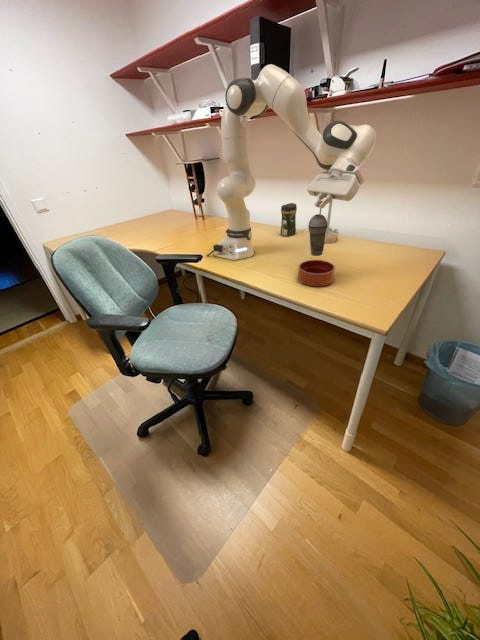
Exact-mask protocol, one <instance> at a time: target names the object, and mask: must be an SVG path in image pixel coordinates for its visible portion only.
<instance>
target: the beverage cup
mask: <svg viewBox="0 0 480 640" xmlns="http://www.w3.org/2000/svg"><path fill="white" fill-rule="evenodd" d="M322 209H323V208H320V207H319V213H317V214H315V215H313V216H311V218H310V219H309V221H308V226H307V227H308V233H309V242H310V244H309V245H310V246H309V247H310V255H311V256H312V257H321V256H322V255H323V252H324V247H325V243H324V241H325V234H326V229H327V225H328V224H327V218H326V216H325V215H323V214H322Z"/></svg>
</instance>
